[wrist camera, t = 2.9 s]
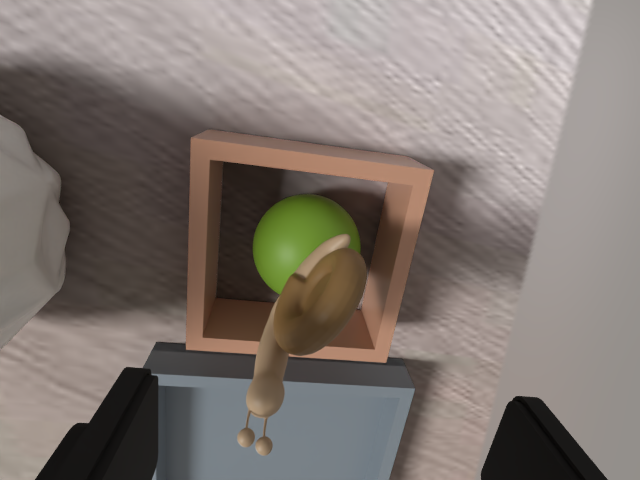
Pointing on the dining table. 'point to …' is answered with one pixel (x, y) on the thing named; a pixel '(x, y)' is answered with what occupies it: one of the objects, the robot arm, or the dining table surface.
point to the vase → (28, 231)
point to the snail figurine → (301, 292)
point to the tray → (277, 417)
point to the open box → (251, 316)
